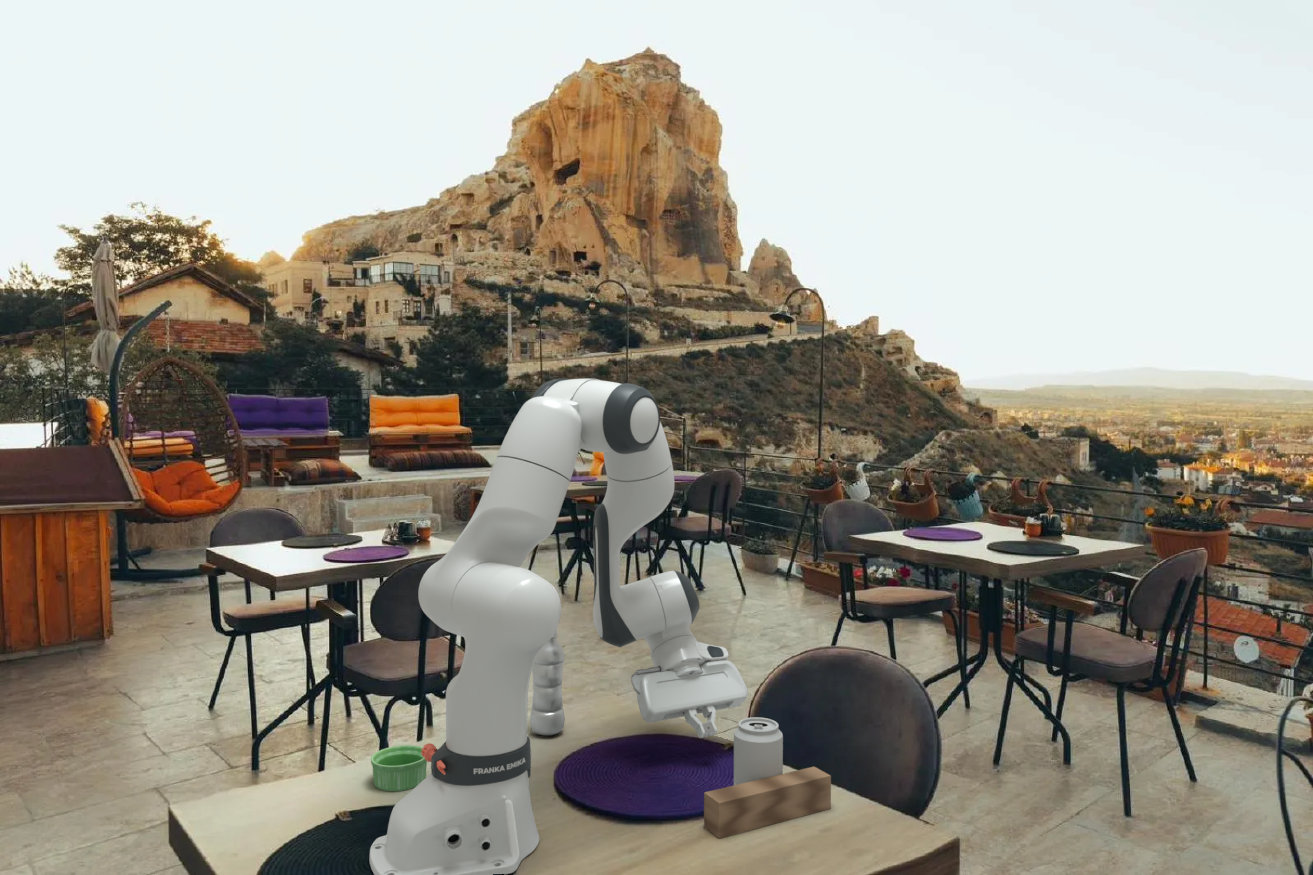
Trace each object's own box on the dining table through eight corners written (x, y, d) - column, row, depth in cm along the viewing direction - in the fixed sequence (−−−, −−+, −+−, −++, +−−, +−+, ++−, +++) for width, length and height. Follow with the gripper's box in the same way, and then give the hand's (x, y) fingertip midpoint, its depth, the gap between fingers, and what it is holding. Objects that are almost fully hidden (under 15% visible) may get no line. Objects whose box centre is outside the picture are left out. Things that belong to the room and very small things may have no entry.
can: (781, 791, 137) (782, 715, 137) (783, 812, 130) (783, 732, 130) (734, 788, 138) (734, 713, 138) (733, 809, 131) (733, 730, 130)
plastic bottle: (552, 724, 167) (552, 621, 167) (571, 734, 162) (572, 627, 162) (523, 732, 163) (523, 626, 163) (542, 742, 158) (542, 633, 157)
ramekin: (358, 789, 138) (358, 761, 138) (393, 768, 146) (393, 742, 146) (406, 797, 135) (406, 769, 135) (439, 775, 143) (439, 748, 143)
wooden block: (719, 838, 121) (719, 803, 121) (703, 827, 125) (704, 792, 125) (830, 808, 131) (830, 775, 131) (813, 798, 134) (814, 766, 134)
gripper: (633, 661, 148) (661, 736, 140) (733, 646, 158) (765, 716, 149) (622, 680, 152) (648, 755, 144) (720, 665, 162) (750, 734, 153)
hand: (708, 735), depth 147 cm, fingers closed
